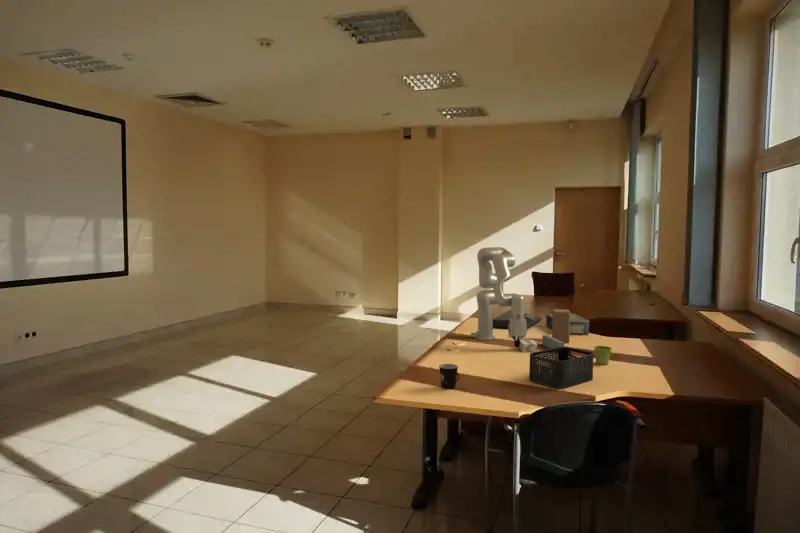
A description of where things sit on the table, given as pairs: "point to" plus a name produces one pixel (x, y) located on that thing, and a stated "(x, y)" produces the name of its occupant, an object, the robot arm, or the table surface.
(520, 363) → the table surface
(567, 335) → the wooden block
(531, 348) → the off-white block
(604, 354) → the plant pot
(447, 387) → the coffee mug
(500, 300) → the robot arm
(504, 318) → the vintage computer
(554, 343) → the curved slate gray block
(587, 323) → the metal box
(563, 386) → the storage bin
